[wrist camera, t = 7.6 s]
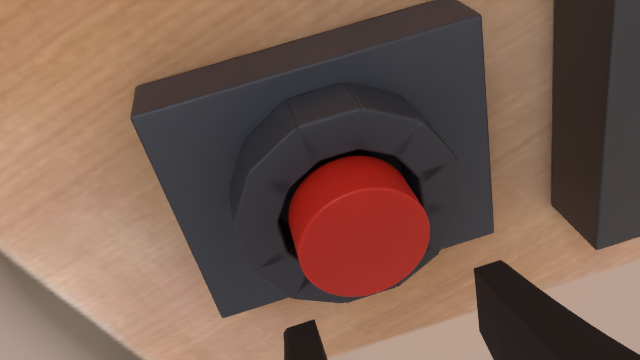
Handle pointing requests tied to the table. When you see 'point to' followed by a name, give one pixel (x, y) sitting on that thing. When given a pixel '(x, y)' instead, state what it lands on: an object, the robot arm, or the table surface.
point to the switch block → (320, 141)
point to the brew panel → (597, 118)
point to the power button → (357, 226)
